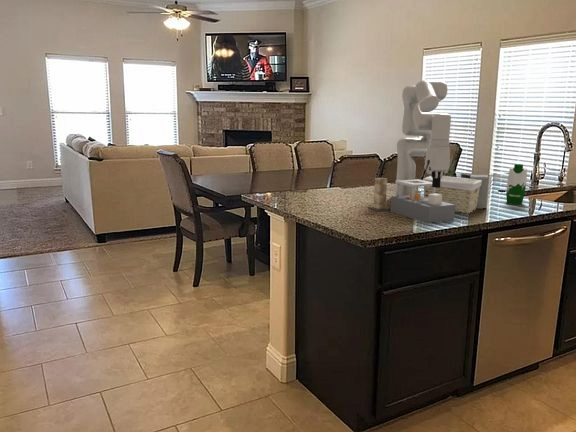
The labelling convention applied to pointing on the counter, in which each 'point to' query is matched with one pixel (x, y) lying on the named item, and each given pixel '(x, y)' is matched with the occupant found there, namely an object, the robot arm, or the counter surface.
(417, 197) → the plunger
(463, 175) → the supplement container
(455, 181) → the storage basket
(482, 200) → the skincare box
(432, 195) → the on button
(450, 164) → the potted plant
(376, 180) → the wooden rectangular block
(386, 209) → the pad
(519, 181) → the milk carton
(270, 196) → the counter surface
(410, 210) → the grey housing
